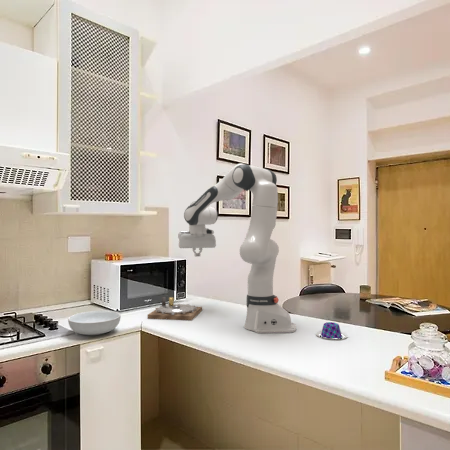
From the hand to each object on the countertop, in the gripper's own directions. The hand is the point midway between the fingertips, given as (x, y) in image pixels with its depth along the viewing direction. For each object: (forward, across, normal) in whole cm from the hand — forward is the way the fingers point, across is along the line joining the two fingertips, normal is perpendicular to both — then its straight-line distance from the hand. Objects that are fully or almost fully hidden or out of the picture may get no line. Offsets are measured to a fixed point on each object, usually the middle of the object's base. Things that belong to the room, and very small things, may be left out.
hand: (197, 256), depth 201 cm
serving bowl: (+29, -51, -33) cm, 67 cm away
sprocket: (+26, -13, -10) cm, 31 cm away
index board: (+28, -13, -10) cm, 33 cm away
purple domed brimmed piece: (+29, +41, -66) cm, 83 cm away
